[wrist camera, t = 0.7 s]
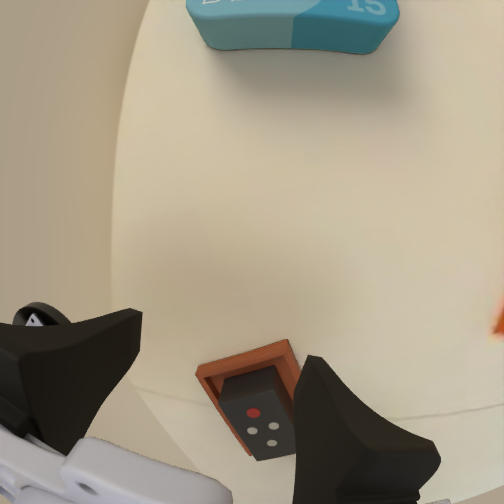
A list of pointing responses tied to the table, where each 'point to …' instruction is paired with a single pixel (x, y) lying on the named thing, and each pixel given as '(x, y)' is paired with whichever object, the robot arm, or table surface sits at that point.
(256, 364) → the dish
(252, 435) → the remote
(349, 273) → the table surface
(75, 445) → the robot arm
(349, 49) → the data package
